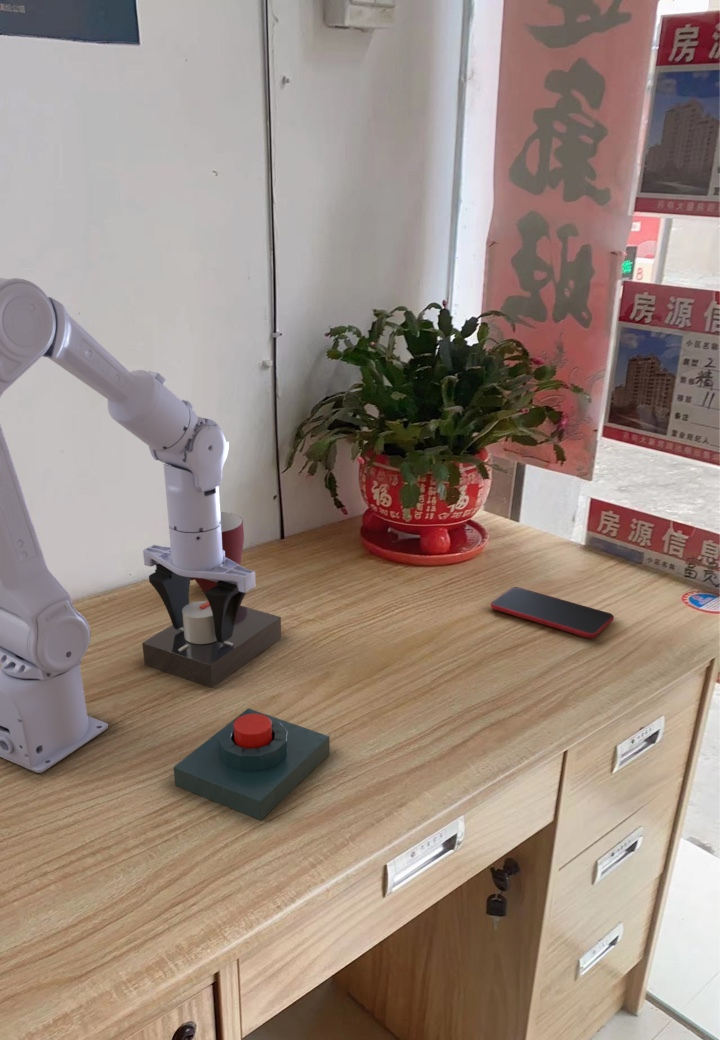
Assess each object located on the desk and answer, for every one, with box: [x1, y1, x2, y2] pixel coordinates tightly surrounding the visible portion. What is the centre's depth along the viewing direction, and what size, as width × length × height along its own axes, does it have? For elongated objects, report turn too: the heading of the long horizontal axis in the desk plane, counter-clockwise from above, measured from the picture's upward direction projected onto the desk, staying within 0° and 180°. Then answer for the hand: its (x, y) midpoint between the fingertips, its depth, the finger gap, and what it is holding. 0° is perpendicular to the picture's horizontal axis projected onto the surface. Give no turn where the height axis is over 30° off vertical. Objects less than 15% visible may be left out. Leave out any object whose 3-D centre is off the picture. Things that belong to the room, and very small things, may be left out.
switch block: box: [173, 708, 331, 821], centre depth 86 cm, size 12×10×4 cm
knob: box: [182, 600, 217, 644], centre depth 103 cm, size 4×4×4 cm
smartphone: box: [490, 586, 615, 639], centre depth 117 cm, size 7×1×15 cm
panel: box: [141, 605, 282, 688], centre depth 107 cm, size 14×10×3 cm
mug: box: [190, 511, 245, 594], centre depth 120 cm, size 10×8×10 cm
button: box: [234, 714, 272, 748], centre depth 84 cm, size 4×4×2 cm
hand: (202, 632), depth 104 cm, fingers open, 6 cm apart
